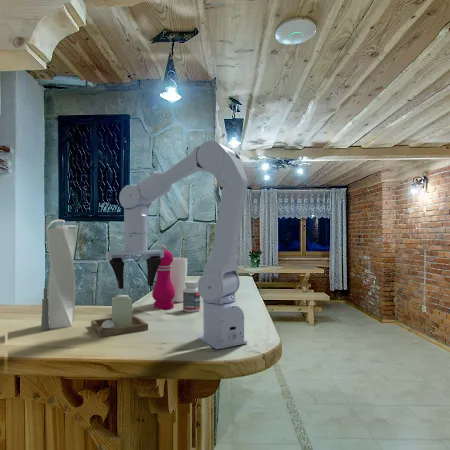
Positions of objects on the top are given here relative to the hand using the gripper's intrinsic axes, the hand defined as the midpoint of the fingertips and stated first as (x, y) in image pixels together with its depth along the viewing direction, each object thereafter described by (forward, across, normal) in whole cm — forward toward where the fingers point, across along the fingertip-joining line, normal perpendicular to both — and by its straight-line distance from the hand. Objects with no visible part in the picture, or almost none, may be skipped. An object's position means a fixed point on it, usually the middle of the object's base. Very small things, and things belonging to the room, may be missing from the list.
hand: (135, 287), depth 88 cm
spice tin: (+10, +3, -1) cm, 10 cm away
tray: (+10, +4, 0) cm, 11 cm away
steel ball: (+10, +8, +3) cm, 13 cm away
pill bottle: (+10, -21, -10) cm, 25 cm away
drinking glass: (+10, -23, -25) cm, 35 cm away
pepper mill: (+10, -15, -18) cm, 25 cm away
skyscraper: (+11, +16, -11) cm, 22 cm away
